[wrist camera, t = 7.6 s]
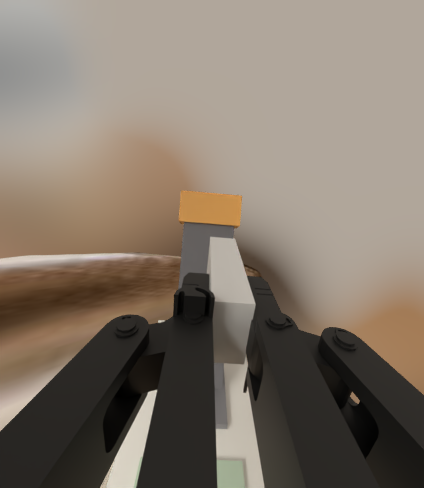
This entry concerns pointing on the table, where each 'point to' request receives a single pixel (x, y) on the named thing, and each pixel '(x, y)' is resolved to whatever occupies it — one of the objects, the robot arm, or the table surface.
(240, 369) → the breaker housing
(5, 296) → the table surface
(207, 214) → the lever
